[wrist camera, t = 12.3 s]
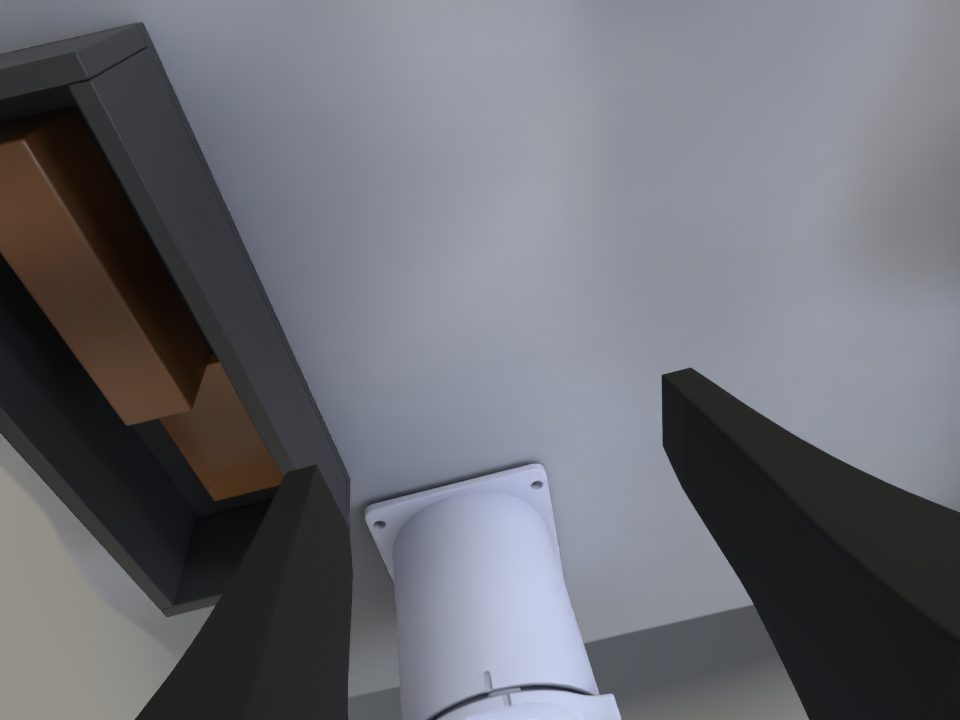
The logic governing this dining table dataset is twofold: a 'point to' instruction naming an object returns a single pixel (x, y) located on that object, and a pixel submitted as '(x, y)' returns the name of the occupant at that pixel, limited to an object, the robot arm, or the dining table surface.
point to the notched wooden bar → (119, 301)
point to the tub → (211, 305)
